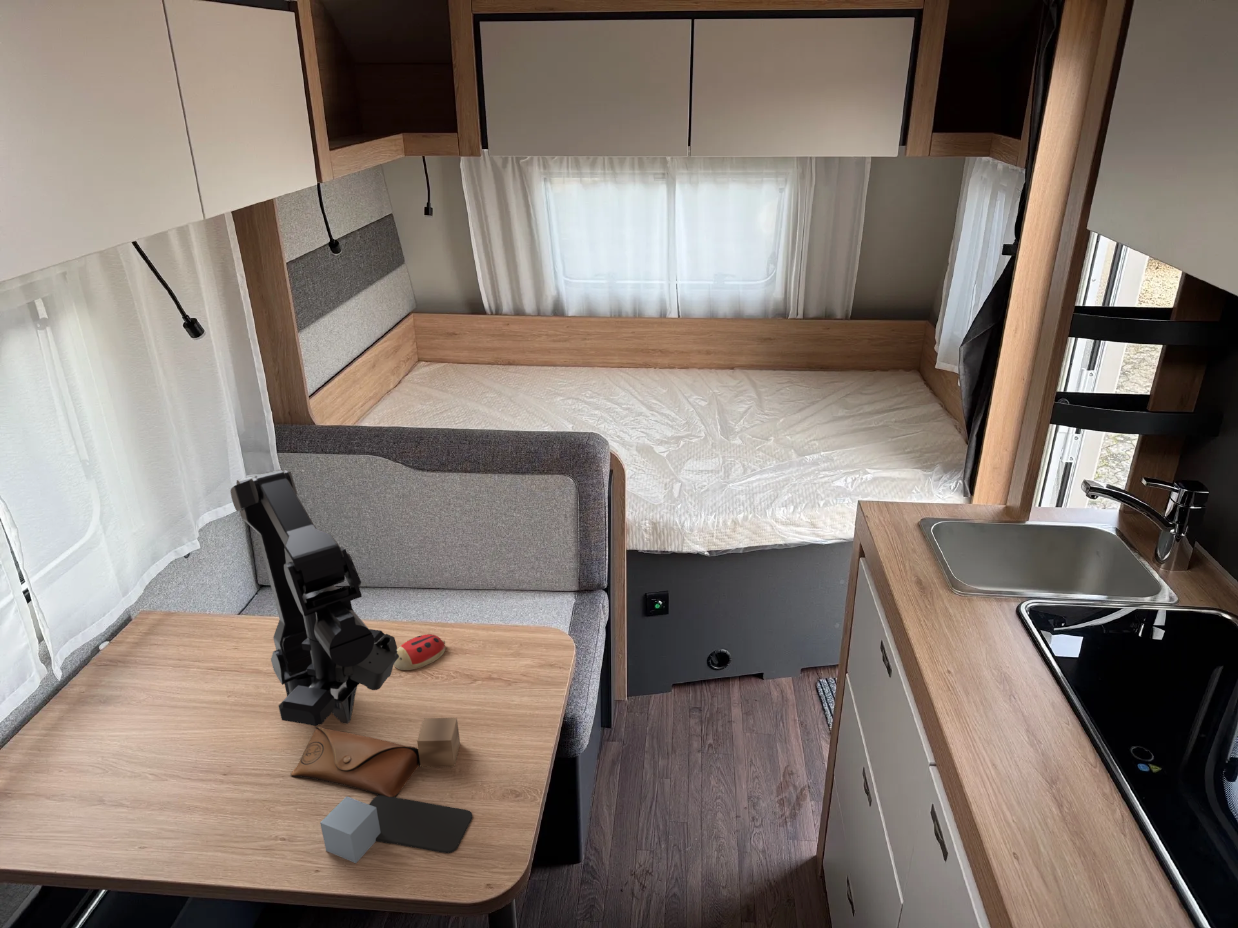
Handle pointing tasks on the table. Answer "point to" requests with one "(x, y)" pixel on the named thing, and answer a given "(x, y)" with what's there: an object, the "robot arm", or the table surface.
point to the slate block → (350, 829)
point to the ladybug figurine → (419, 652)
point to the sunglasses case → (357, 762)
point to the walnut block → (438, 742)
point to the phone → (420, 824)
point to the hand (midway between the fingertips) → (345, 721)
